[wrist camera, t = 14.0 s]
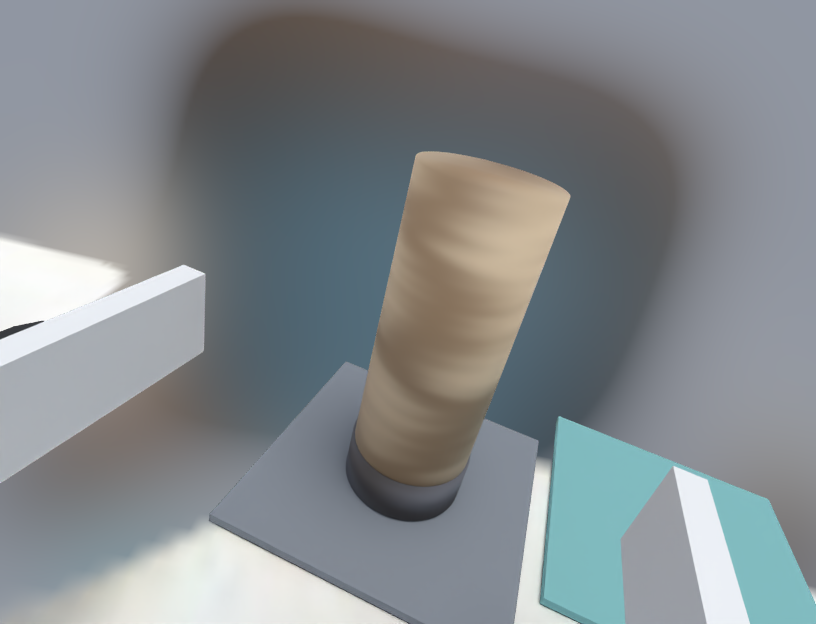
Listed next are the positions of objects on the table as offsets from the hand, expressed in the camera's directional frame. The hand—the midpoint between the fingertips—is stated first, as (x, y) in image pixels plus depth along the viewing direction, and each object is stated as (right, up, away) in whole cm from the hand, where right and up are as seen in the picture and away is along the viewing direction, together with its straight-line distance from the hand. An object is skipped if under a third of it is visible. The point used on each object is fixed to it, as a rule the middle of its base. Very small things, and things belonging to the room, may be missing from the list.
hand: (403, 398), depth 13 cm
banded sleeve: (0, -5, +9) cm, 11 cm away
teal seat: (+13, -9, +10) cm, 18 cm away
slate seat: (0, -5, +10) cm, 11 cm away
